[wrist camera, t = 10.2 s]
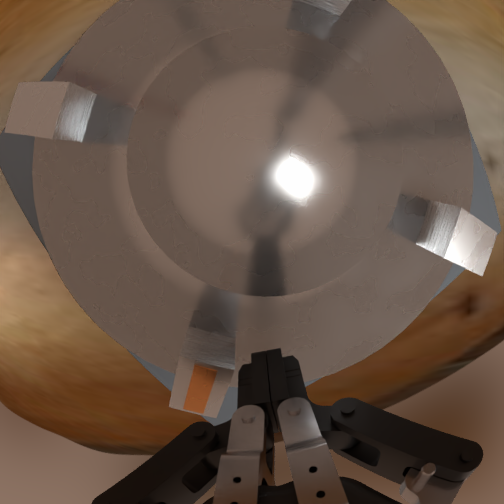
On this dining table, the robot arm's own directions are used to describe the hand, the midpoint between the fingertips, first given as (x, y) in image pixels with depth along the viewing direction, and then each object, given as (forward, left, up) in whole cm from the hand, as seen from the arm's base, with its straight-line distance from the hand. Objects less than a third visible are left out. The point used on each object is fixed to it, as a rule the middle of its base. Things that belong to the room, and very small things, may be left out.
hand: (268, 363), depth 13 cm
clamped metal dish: (-8, +5, -2) cm, 10 cm away
